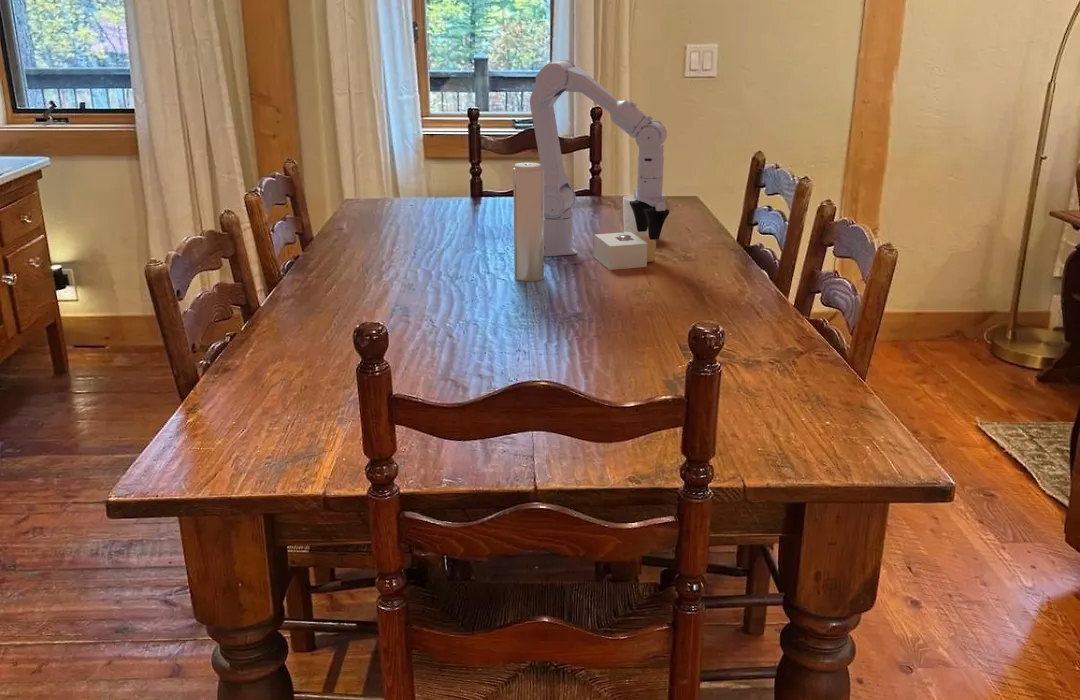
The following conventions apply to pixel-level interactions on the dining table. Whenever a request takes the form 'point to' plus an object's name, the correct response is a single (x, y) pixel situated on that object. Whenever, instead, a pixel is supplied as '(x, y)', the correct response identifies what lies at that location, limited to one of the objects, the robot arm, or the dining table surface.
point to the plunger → (624, 237)
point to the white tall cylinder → (528, 221)
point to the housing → (620, 251)
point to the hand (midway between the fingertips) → (648, 235)
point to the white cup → (631, 218)
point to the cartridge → (650, 248)
